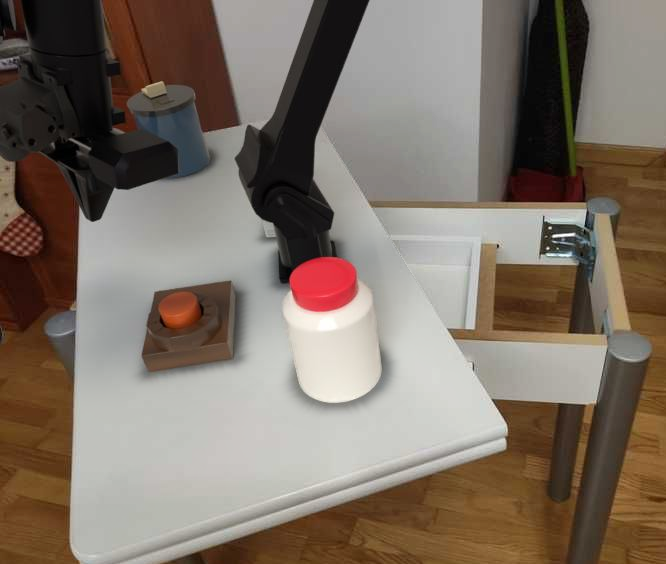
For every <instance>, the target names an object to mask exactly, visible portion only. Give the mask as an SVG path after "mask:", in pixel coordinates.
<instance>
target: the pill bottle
mask: <svg viewBox="0 0 666 564" xmlns="http://www.w3.org/2000/svg"><path fill="white" fill-rule="evenodd" d="M289 286H290V289H289V290H288V291H287V293H286V294H285V296H284V297H283V300H282V303H281V313H282V318H283V322H284V326H285V330H286V331H285V332H286V335H287V339H288V343H289V348H290V351H291V355H292V359H293V363H294V369H295V371H296V376H297V377H296V378H297V380H298V383H299V386H300V388H301V390H302V391H303V392H304V393H305V394H306V395H307V396H308V397H310V398H312V399H314V400H316V401H320V402H323V403H330V404H333V403H336V404H337V403H338V404H340V403H346V402H350V401H353V400H356V399H358V398H361V397H363V396H364V395H366V394H368V393H370V391H371V390H373V389H374V388H375V387H376V385H377V384H378V382H379V381H380V379H381V376H382V369H383V368H382V367H383V365H382V358H381V349H380V342H379V341H380V340H379V332H378V326H377V325H378V323H377V317H376V308H375V300H374V293H373V292H372V290H371V288H370V286H369V285H368V284H367V283H366V282H365V281H363V280H362V279H360V278H358V274H357V269H356V267H355V266H354V265H353V263H351V262H349V261H348V260H346V259H344V258H340V257H337V258H336V257H322V258H316V259H312V260H309V261H307V262H305V263H303V264H301V265H300V266H298V267H297V268H296V269H295V270H294V271H293V272H292V274H291V276H290V283H289Z"/></svg>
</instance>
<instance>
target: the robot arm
mask: <svg viewBox="0 0 666 564" xmlns="http://www.w3.org/2000/svg"><path fill="white" fill-rule="evenodd" d="M370 1H371V0H313V1H312V4H311V7H310V10H309V13H308V15H307V17H306V18H307V19H306V21H305V24H304V26H303V30H302V33H301V35H300V38H299V41H298V44H297V46H296V50H295V52H294V55H293V58H292V61H291V64H290V66H289V70H288V72H287V75H286V78H285V81H284V84H283V85H282V86H283V87H282V88H281V92H280V95H279V97H278V100H277V103H276V107H275V109H274V112H273V114H272V115H271V117H270V119H269V120H268V121H266V123H265V124H264V125H263V126H262V127H261V128H260V129H259V128H258V127H256V126H253V125H251V124H247V125H246V128H245V132H244V138H243V144H242V147H241V149H240V150H239V152H238V154H237V155H236V156H235V157H234V162H235V164H236V165H237V167H238V178H239V181H240V184H241V185H242V188H243V190H244V192H245V195H246V197H247V199H248V202H249V204H250V206H251V208H252V210H253V211H254V214H255V215H256V216H258V217H259V218H260V219H261V221H262V220H265V221H267V222H270V223H273V226H274V230H275V234H276V237H275V239H276V243H277V247H278V249H277V253H278V254H277V255H278V281H279V283H281V284H282V285H283V284H290V276H291V274H292V272H293V271H294V270H295V269H296V268H297V267H298V266H300V265H301V264H303V263H305V262H307V261H309V260H312V259H316V258H322V257H336V258H338V257H337V251H336V243H335V241H334V240H331V236H330V231H331V230H332V226H333V222H334V221H333V220H334V217H335V211H334V210H333V208H332V207H331V205H330V203H329V202H328V200H327V199H326V197H325V196H324V194H323V192H322V191H321V189H320V188H319V186H318V185H317V183H316V181H315V179H314V175H315V156H316V155H315V153H316V139H317V136H318V134H319V132H320V128H321V126H322V124H323V121H324V118H325V115H326V113H327V111H328V108H329V106H330V103H331V101H332V98H333V95H334V92H335V90H336V87H337V85H338V83H339V80H340V78H341V74H342V72H343V70H344V67H345V64H346V62H347V59H348V56H349V54H350V51H351V49H352V47H353V44H354V42H355V39H356V36H357V33H358V31H359V29H360V26H361V24H362V21H363V18H364V16H365V13H366V11H367V8H368V5H369V3H370ZM20 6H21V11H22V16H23V22H24V28H25V34H26V38H27V43H28V51H29V54H21V55H18V58H19V61H17V62H16V67H17V72H18V79H16V80H13V81H12V82H10V83H7V84H3V85H1V86H0V157H1V158H2V159H3V160H5V161H6V162H10V163H14V162H19V161H22V160H24V159H26V158H27V157H28V156H29V155H30V153H33V154H37V153H39V154H41V155H42V156H44V157H46V158H47V159H48V160H50V161H52V162H54V163H55V164H56V166H57V168H58V169H59V171H60V172H61V174H62V176H63V178H64V180H65V181H66V183H67V185H68V187H69V189H70V191H71V192H72V195H73V197H74V199H75V200H76V202H77V204H78V206H79V208H80V210H81V213H82V214H83V216H84V218H85V219H86V220H87V221H89V222H91V223H95V222H97V221H100V220H101V219H102V217H103V216H104V213H105V211H106V208H107V207H108V203H109V202H110V199H111V197H112V195H113V192H114V190H115V189H116V190H123V191H129V190H133V189H135V188H138V187H142V186H144V185H149V184H151V183H153V182H156V181H159V180H162V179H166V177H169V176H172V175H175V174H178V173H179V157H178V149H177V148H176V147H175V146H174V145H172V144H171V143H170V142H169V141H167V140H165V139H163V138H161V137H158V136H156V135H154V134H152V133H150V132H148V131H146V130H144V129H139V130H138V129H135V130H132V131H128V132H125V131H123V130H121V129H118V128H116V127H114V126H118V125H122V124H126V123H127V121H126V120H127V119H126V112H125V110H123V109H121V108H119V107H117V106H115V105H114V100H113V99H114V98H113V89H112V82H111V81H112V80H111V77H115V76H121V75H122V72H121V64H120V63H121V62H120V61H118V60H115V59H112V58H111V57H109V56H108V48H107V47H108V46H107V37H106V30H105V29H106V28H105V20H104V13H103V3H102V0H20ZM6 30H7V31H13V32H15V31H17V21H16V13H15V5H14V0H0V45H2V44H3V40H4V39H3V38H5V37H6Z"/></svg>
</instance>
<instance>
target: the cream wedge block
mask: <svg viewBox="0 0 666 564" xmlns="http://www.w3.org/2000/svg"><path fill="white" fill-rule="evenodd" d="M140 90H141V92H142V93H144V94H145V95H147V96H148V97H150V98H153V97H156V96H159V95H162V94H165V93H167V92H166V88H165V83H164V81H162V80H161V81H158V82H155V83H152V84H149V85H145V87H143V88H141V89H140Z"/></svg>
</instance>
